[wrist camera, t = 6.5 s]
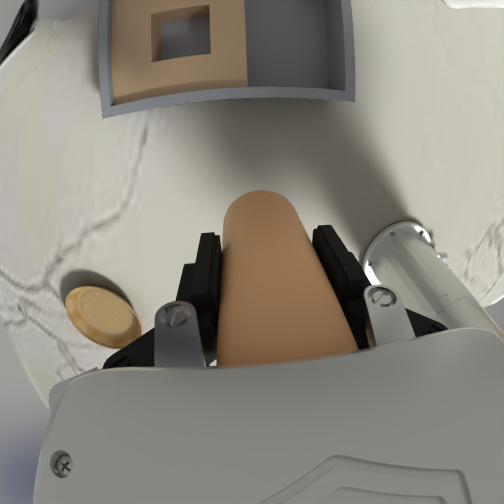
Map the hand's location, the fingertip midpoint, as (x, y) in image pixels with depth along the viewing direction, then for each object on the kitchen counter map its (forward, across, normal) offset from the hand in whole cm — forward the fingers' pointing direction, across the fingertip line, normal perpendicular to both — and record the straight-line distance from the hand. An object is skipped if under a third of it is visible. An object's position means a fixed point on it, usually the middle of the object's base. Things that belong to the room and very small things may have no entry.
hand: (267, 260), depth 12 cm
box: (+21, +2, -14) cm, 26 cm away
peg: (+3, 0, 0) cm, 3 cm away
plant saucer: (+22, +26, +23) cm, 41 cm away
